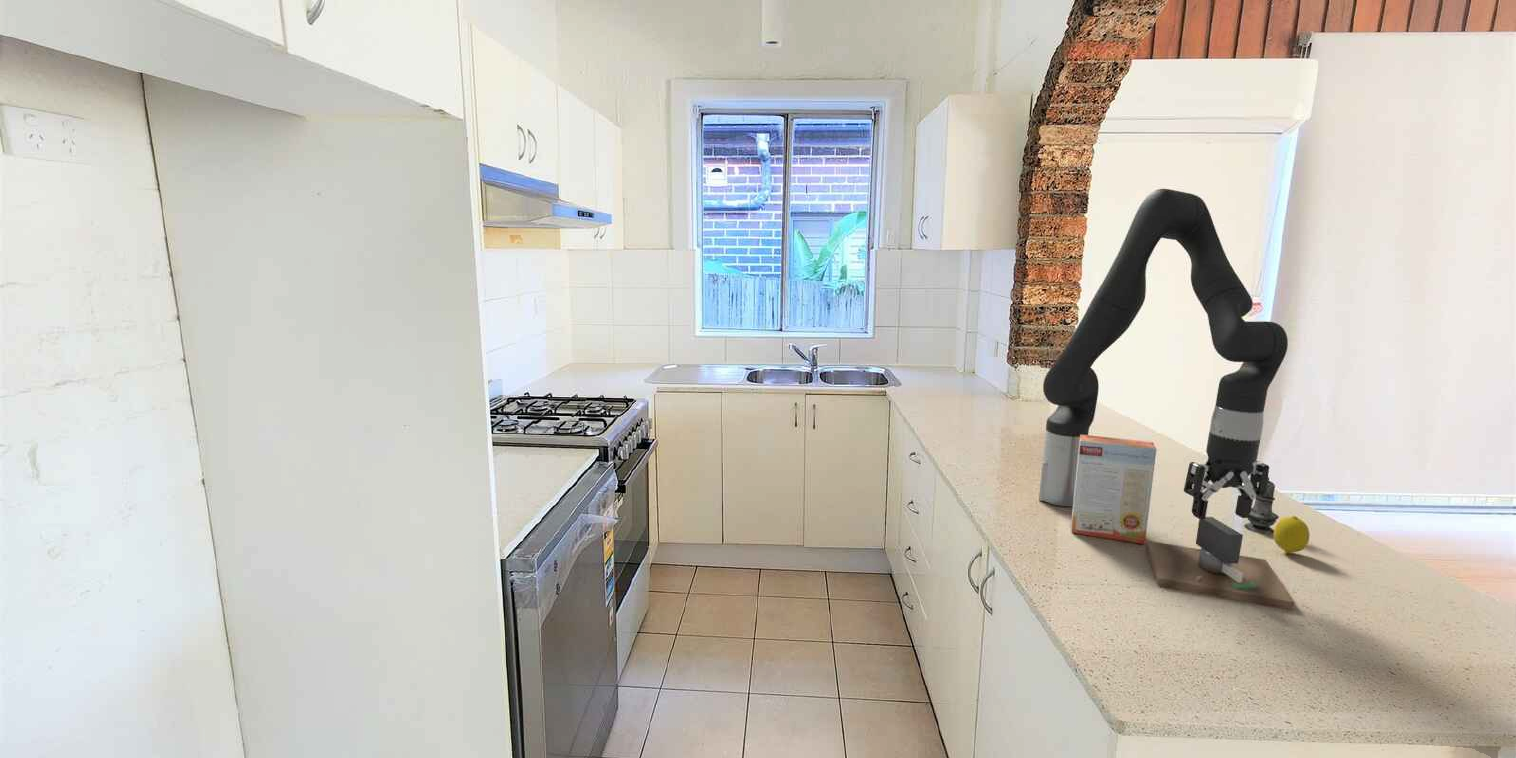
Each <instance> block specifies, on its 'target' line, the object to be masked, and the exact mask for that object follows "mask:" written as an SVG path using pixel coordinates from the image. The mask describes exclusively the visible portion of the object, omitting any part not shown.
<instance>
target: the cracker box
mask: <svg viewBox="0 0 1516 758" xmlns="http://www.w3.org/2000/svg"><path fill="white" fill-rule="evenodd" d="M1156 456H1157V447H1156V445H1155V443H1154V442H1153V441H1147V440H1136V439H1127V438H1118V437H1109V436H1099V435H1090V434H1088V435H1080V441H1079V451H1078V461H1077V470H1076V480H1075V490H1074V500H1073V506H1072V511H1071V512H1072V513H1071V525H1070V527H1071V530H1070V531H1071V533H1073V534H1078V535H1085V536H1091V537H1098V538H1103V539H1110V540H1116V541H1123V542H1129V543H1134V544H1140V545H1145V544H1146V537H1147V529H1148V520H1149V512H1150V507H1151V506H1150V504H1151V497H1152V489H1153V480H1154V471H1155V465H1156V463H1155V462H1156Z"/></svg>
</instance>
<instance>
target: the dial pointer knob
mask: <svg viewBox="0 0 1516 758" xmlns="http://www.w3.org/2000/svg"><path fill="white" fill-rule="evenodd" d="M1243 537H1244V535H1243V534H1242V533H1240V532H1239V531H1237V530H1235V529H1233V528H1232V527H1230V526H1228V525H1227V524H1225V523H1223V522H1222V521H1220V520H1218V519H1217V518H1215V517H1213V516H1206V517H1205V519H1198V525H1197V533H1196V537H1195V538H1196V540H1195V544H1196V545H1197V546H1198V547H1200V548H1199V549H1200V555H1199V561H1198V565H1199V566H1200V567H1201V568H1203V569H1205V570H1207V571H1210V572H1214V573H1220V574H1227V575H1228V576H1230V577H1231V578H1233V579H1234V580H1235V581H1237V582H1242V578H1243V573H1241V572H1240V571H1238V570H1237V569H1235V568H1234V567H1232V566H1231V564H1232V563H1238V562H1239V556H1241V549H1242V542H1243Z"/></svg>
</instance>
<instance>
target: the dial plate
mask: <svg viewBox="0 0 1516 758" xmlns="http://www.w3.org/2000/svg"><path fill="white" fill-rule="evenodd" d="M1145 544H1146V545H1145V548H1146V553H1147V557H1148V558H1149V563H1150V565H1151V568H1152V572H1153V575H1154V578H1155V582H1156V585H1157V587H1162V588H1169V589H1174V590H1178V591H1179V590H1180V591H1184V592H1190V593H1195V594H1200V595H1201V594H1202V595H1207V596H1213V597H1218V598H1224V599H1228V600H1234V601H1238V602H1239V601H1240V602H1245V603H1251V604H1256V605H1262V606H1268V607H1273V608H1278V609H1283V610H1289V611H1294V609H1295V608H1294V607H1295V601H1294V599H1293V597H1292V596H1291V595H1290V593H1289V592H1288V590H1287V588H1286V587H1285V586H1284V584H1283V583H1282V582H1281V579H1280V578H1279V577H1278V576H1277V574H1276V573H1275V571H1274V570H1273V569H1272V567H1271V566H1270V564H1269V562H1268V561H1267V559H1265V558H1264V559H1263V558H1257V557H1251V556H1244V555H1240V556H1239V562H1238V563H1232V564H1231V566H1232V567H1234V568H1235V569H1237V570H1238V571H1240V572H1241V573H1243V578H1242V582H1237V581H1235V580H1234V579H1233V578H1231V577H1230V576H1228V575H1227V574H1220V573H1214V572H1210V571H1207V570H1205V569H1203V568H1201V567H1200V566H1199V565H1198V561H1199V555H1200V549H1201V548H1195V547H1188V546H1183V545H1177V544H1171V543H1164V542H1156V541H1151V540H1146V542H1145Z"/></svg>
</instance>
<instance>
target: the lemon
mask: <svg viewBox="0 0 1516 758" xmlns="http://www.w3.org/2000/svg"><path fill="white" fill-rule="evenodd" d="M1273 530H1274V533H1273V540H1274V542H1275V544H1276V545H1277V546H1278V547H1279V548H1280V549H1281V550H1283V551H1284V553H1286V554H1287V555H1289V554H1292V553H1298V552H1301V551H1303V550H1304V549H1305V548H1306V547H1307V546H1308V544H1309V542H1310V541H1309V540H1310V529H1309V527H1308V525H1307V523H1305V522H1304V521H1303V520H1302V519H1300V518H1298V517H1297V516H1295V515H1292V516H1287V517H1284V518H1281V519H1280V520H1278V522H1276V525H1275V527H1274V529H1273Z"/></svg>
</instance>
